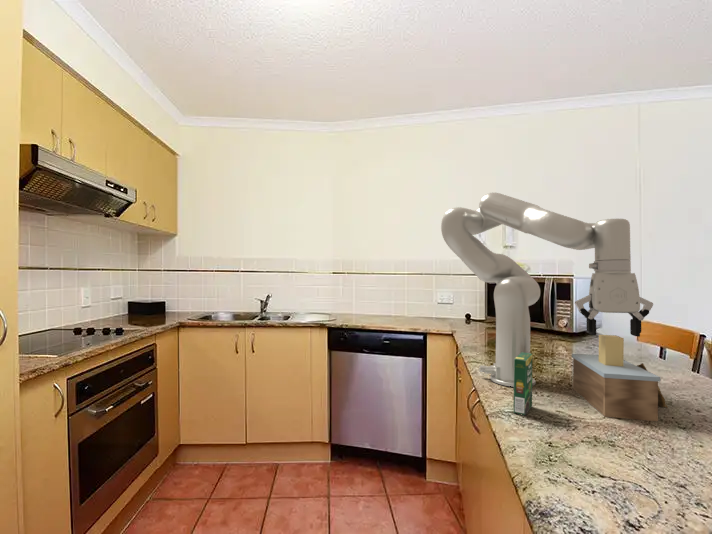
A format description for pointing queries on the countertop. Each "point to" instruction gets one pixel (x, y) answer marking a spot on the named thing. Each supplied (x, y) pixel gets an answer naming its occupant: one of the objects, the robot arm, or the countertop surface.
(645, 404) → the crate
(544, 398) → the countertop surface
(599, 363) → the lid
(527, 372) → the coffee box
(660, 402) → the rock
